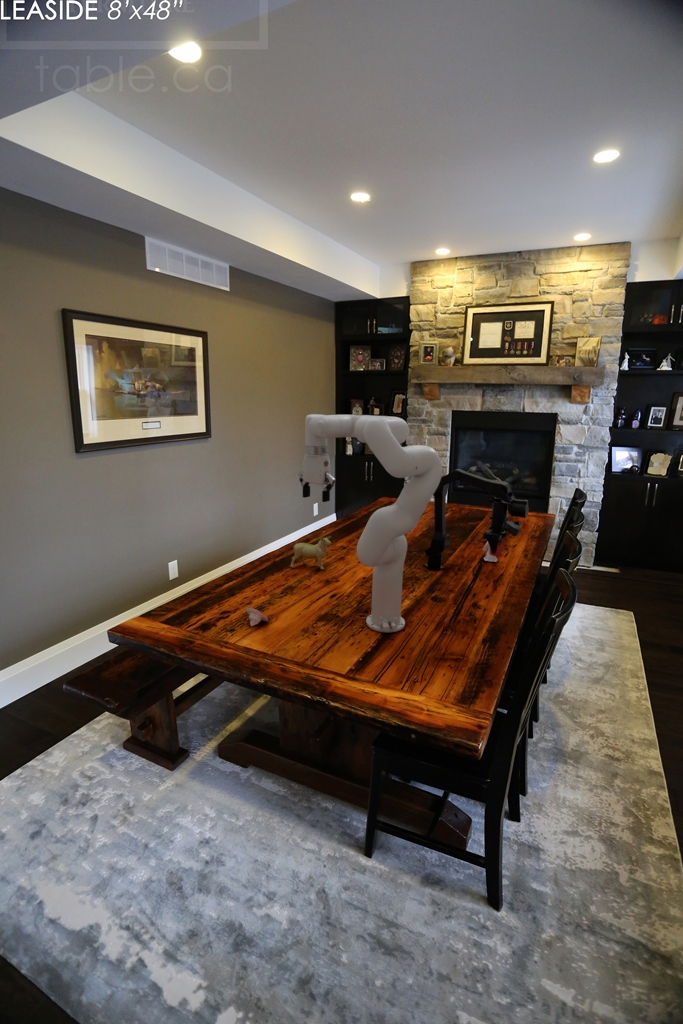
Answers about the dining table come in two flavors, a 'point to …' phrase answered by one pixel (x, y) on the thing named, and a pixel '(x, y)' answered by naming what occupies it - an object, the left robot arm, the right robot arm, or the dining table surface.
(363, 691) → the dining table surface
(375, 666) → the dining table surface
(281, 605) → the dining table surface
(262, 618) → the seashell
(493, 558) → the figurine
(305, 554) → the toy
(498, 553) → the can
